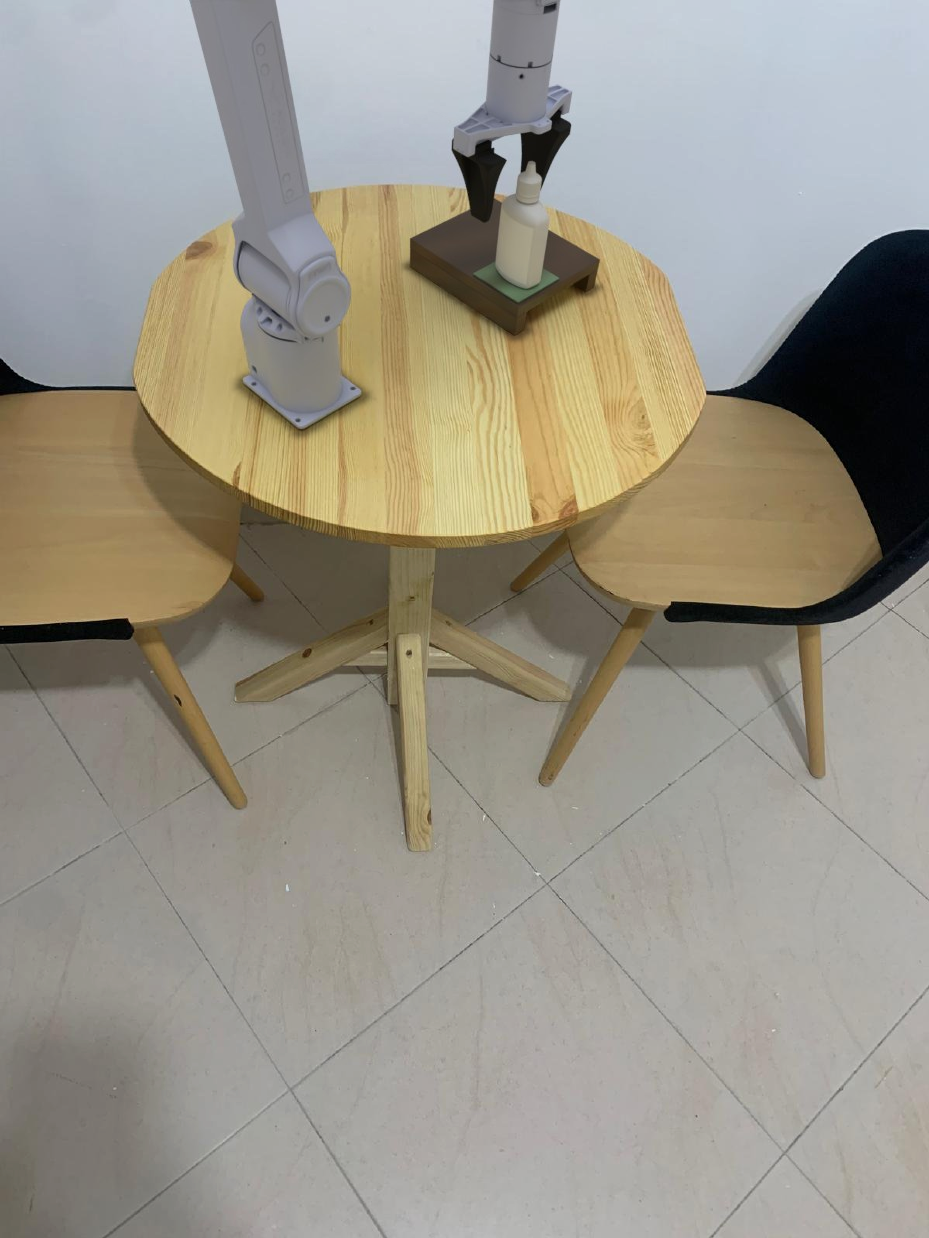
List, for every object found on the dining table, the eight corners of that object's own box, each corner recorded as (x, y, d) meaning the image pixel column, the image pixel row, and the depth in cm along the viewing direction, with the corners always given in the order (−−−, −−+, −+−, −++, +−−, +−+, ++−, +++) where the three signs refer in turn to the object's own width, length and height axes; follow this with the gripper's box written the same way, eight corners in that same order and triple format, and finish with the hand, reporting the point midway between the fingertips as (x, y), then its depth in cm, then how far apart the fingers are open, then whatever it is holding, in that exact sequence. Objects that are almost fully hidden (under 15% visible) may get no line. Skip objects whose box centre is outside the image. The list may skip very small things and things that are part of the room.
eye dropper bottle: (503, 292, 84) (516, 178, 74) (492, 262, 86) (503, 149, 76) (542, 290, 84) (560, 177, 74) (530, 260, 87) (546, 148, 77)
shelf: (409, 266, 91) (409, 236, 88) (490, 225, 97) (493, 196, 94) (514, 335, 85) (518, 306, 82) (594, 287, 91) (600, 258, 88)
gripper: (497, 93, 65) (484, 247, 76) (605, 50, 71) (578, 198, 82) (439, 63, 67) (435, 216, 79) (548, 24, 74) (530, 171, 85)
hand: (505, 205), depth 81 cm, fingers open, 7 cm apart
